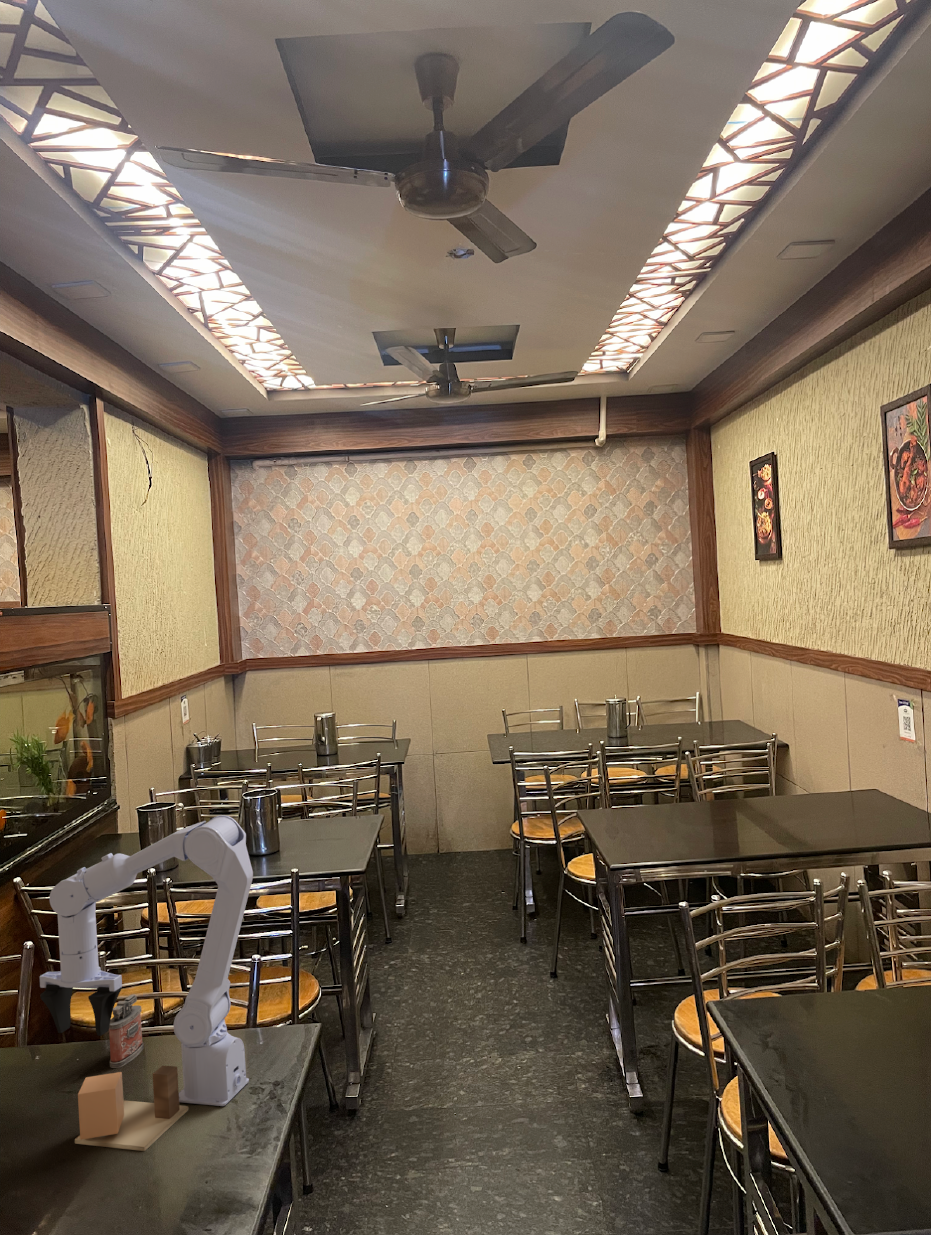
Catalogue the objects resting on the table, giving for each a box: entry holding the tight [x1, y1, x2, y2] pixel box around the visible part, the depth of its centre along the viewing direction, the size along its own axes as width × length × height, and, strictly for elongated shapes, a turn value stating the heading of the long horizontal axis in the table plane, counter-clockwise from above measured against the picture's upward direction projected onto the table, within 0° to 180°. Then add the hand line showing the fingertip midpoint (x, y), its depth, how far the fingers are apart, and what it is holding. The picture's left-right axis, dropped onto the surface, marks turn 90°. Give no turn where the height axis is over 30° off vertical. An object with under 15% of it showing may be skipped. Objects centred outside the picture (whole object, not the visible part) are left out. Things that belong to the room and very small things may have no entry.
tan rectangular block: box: [77, 1071, 124, 1140], centre depth 132 cm, size 5×5×7 cm
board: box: [74, 1099, 189, 1152], centre depth 134 cm, size 12×11×1 cm
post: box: [152, 1065, 180, 1119], centre depth 136 cm, size 3×3×7 cm
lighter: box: [108, 994, 145, 1069], centre depth 157 cm, size 8×3×10 cm, turn 168°
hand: (83, 1031), depth 144 cm, fingers open, 7 cm apart
